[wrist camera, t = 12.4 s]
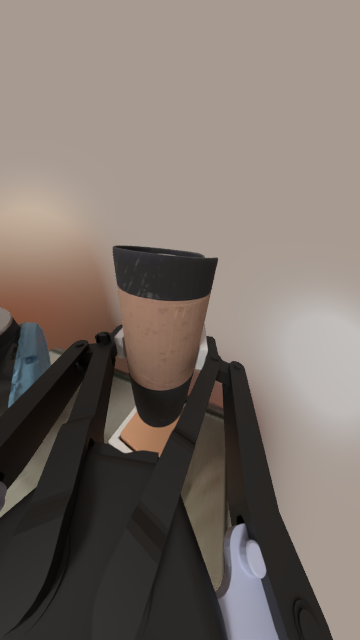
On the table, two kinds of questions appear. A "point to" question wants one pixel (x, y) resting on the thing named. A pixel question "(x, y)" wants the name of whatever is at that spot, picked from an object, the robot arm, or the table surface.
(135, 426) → the pink flat block
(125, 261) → the travel mug
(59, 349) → the table surface
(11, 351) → the robot arm
